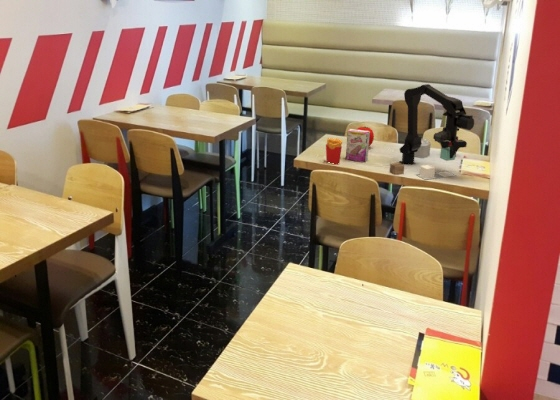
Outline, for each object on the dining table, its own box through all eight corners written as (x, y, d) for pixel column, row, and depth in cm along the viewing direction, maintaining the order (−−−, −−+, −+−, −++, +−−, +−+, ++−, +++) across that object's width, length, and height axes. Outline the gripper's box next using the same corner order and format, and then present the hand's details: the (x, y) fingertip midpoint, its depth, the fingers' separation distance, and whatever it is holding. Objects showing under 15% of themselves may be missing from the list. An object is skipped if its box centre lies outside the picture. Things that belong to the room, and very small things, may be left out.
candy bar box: (345, 160, 290) (347, 130, 284) (348, 157, 295) (349, 128, 289) (365, 162, 286) (367, 132, 280) (368, 160, 290) (370, 130, 284)
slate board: (414, 175, 267) (414, 174, 267) (446, 171, 273) (446, 170, 273) (425, 181, 259) (425, 180, 259) (457, 177, 266) (457, 176, 265)
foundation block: (419, 175, 266) (420, 165, 264) (428, 174, 267) (429, 164, 265) (425, 178, 261) (426, 168, 259) (434, 177, 263) (435, 167, 261)
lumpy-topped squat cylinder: (406, 155, 299) (408, 140, 296) (414, 150, 309) (416, 135, 306) (425, 158, 294) (426, 143, 291) (432, 153, 304) (434, 138, 301)
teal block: (448, 156, 268) (449, 147, 266) (454, 159, 264) (456, 149, 262) (439, 157, 266) (441, 148, 264) (446, 160, 262) (447, 150, 260)
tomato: (350, 146, 315) (351, 125, 310) (365, 144, 320) (367, 123, 315) (360, 151, 306) (362, 129, 301) (376, 149, 310) (378, 127, 305)
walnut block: (389, 173, 271) (390, 163, 269) (398, 172, 273) (398, 162, 271) (394, 176, 267) (395, 166, 265) (403, 175, 268) (404, 165, 266)
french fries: (324, 162, 287) (324, 138, 282) (328, 160, 290) (329, 136, 285) (338, 165, 281) (339, 141, 277) (342, 163, 284) (344, 139, 280)
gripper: (426, 122, 264) (422, 153, 270) (449, 131, 248) (445, 164, 254) (444, 121, 268) (441, 151, 274) (469, 130, 252) (464, 161, 258)
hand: (447, 156), depth 265 cm, fingers closed on teal block, 5 cm apart
